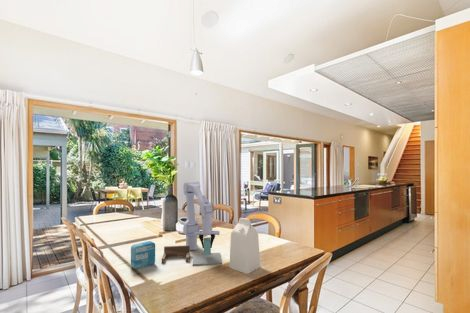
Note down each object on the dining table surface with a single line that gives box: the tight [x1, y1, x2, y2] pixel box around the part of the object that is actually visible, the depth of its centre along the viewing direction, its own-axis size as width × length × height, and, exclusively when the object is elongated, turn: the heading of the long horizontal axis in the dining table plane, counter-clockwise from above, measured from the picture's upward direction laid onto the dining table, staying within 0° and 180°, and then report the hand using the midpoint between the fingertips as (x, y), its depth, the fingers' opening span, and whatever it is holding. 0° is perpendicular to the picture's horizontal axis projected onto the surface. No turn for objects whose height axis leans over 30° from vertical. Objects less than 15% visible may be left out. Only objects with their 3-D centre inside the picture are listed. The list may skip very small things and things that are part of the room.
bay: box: [161, 244, 191, 264], centre depth 145 cm, size 10×15×6 cm
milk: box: [229, 217, 261, 275], centre depth 133 cm, size 12×12×26 cm
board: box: [192, 252, 222, 267], centre depth 144 cm, size 16×16×1 cm
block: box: [203, 236, 212, 255], centre depth 145 cm, size 6×4×8 cm, turn 7°
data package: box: [130, 240, 156, 270], centre depth 136 cm, size 12×4×12 cm, turn 134°
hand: (207, 247), depth 144 cm, fingers closed on block, 4 cm apart
